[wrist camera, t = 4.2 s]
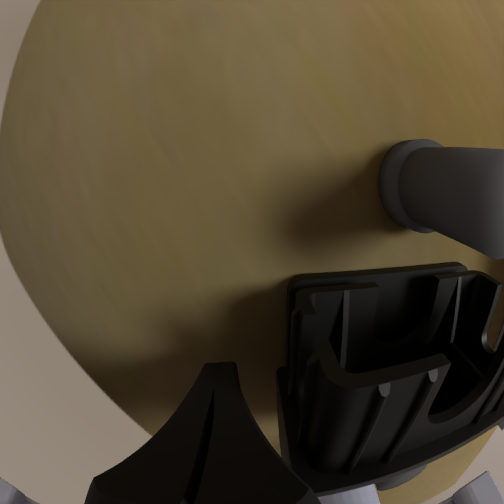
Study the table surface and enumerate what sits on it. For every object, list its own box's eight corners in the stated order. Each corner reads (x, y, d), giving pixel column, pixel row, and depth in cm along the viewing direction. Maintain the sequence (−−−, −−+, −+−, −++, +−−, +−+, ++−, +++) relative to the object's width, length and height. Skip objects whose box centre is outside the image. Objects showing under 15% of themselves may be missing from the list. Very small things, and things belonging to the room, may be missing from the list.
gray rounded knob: (444, 224, 10) (525, 261, 5) (378, 230, 10) (461, 278, 5) (444, 143, 9) (533, 148, 4) (376, 137, 9) (467, 128, 4)
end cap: (273, 401, 13) (289, 519, 6) (274, 274, 10) (313, 422, 4) (435, 369, 13) (489, 445, 6) (467, 259, 11) (563, 321, 4)
